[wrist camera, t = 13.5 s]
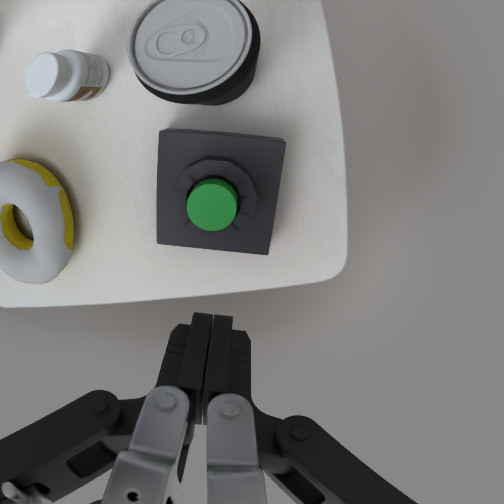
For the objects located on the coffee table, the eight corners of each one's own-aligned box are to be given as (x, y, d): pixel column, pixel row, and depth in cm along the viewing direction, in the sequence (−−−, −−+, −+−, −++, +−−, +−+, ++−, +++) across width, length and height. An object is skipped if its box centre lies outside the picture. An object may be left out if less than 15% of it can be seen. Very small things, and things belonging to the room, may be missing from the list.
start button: (192, 175, 22) (187, 181, 20) (239, 180, 22) (239, 186, 20) (189, 220, 23) (185, 228, 22) (234, 224, 23) (233, 233, 22)
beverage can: (261, 98, 22) (273, 89, 11) (183, 113, 22) (130, 119, 12) (248, 28, 19) (248, -33, 8) (170, 43, 19) (112, 2, 9)
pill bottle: (70, 103, 21) (19, 109, 14) (72, 60, 19) (21, 55, 12) (109, 97, 21) (62, 98, 14) (112, 52, 19) (66, 39, 12)
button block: (166, 128, 23) (152, 132, 20) (283, 139, 24) (289, 144, 20) (162, 234, 28) (151, 253, 24) (266, 244, 28) (269, 265, 25)
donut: (-14, 170, 23) (-41, 183, 19) (63, 137, 23) (33, 146, 18) (19, 271, 30) (-2, 292, 25) (97, 263, 29) (77, 289, 25)
